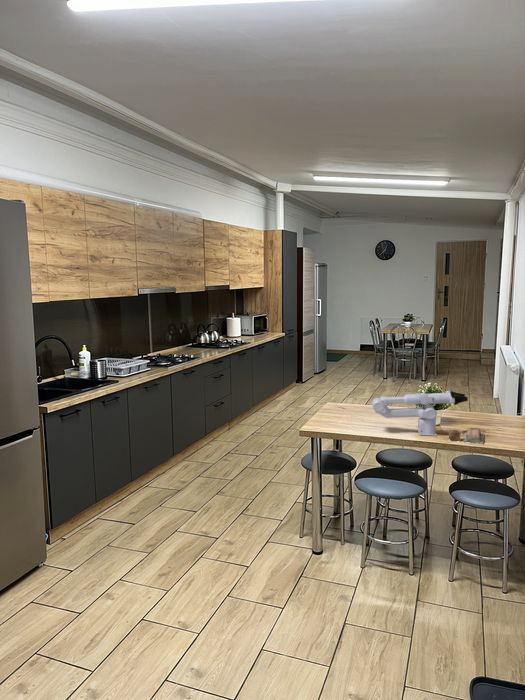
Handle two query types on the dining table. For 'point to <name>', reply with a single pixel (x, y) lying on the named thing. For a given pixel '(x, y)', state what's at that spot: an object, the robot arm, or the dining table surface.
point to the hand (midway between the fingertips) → (466, 397)
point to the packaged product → (474, 436)
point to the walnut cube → (454, 435)
